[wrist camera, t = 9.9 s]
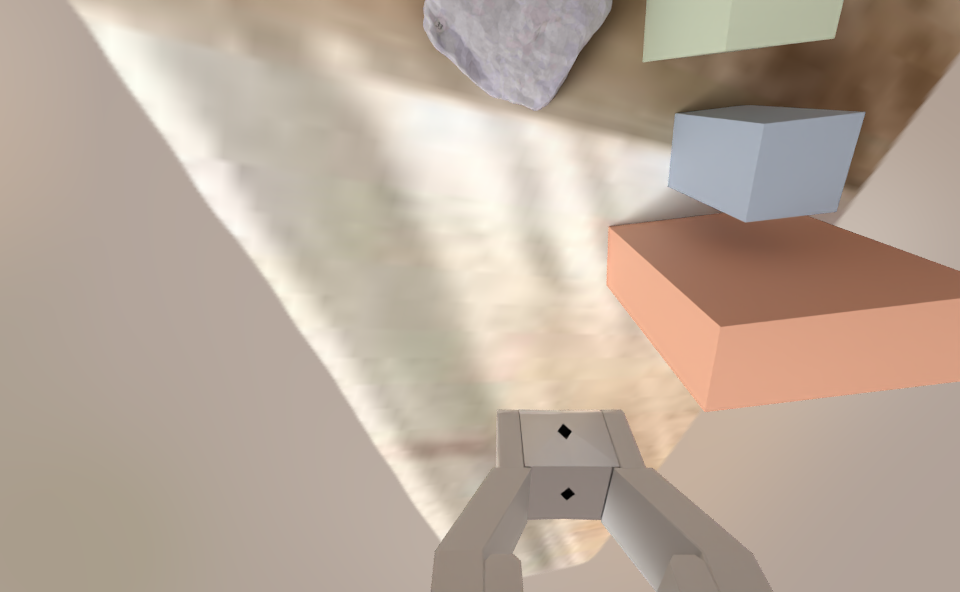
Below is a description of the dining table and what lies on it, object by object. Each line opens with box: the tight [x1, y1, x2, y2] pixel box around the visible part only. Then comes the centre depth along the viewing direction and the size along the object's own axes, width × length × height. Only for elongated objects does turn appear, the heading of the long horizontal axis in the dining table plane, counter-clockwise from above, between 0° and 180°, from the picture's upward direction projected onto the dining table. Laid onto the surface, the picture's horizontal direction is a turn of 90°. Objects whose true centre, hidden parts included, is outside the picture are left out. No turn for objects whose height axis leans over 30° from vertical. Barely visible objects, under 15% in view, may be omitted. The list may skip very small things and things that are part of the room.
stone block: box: [423, 0, 612, 111], centre depth 30 cm, size 12×5×10 cm
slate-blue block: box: [668, 105, 865, 223], centre depth 31 cm, size 6×6×11 cm
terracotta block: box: [607, 213, 960, 412], centre depth 32 cm, size 6×16×18 cm, turn 96°
